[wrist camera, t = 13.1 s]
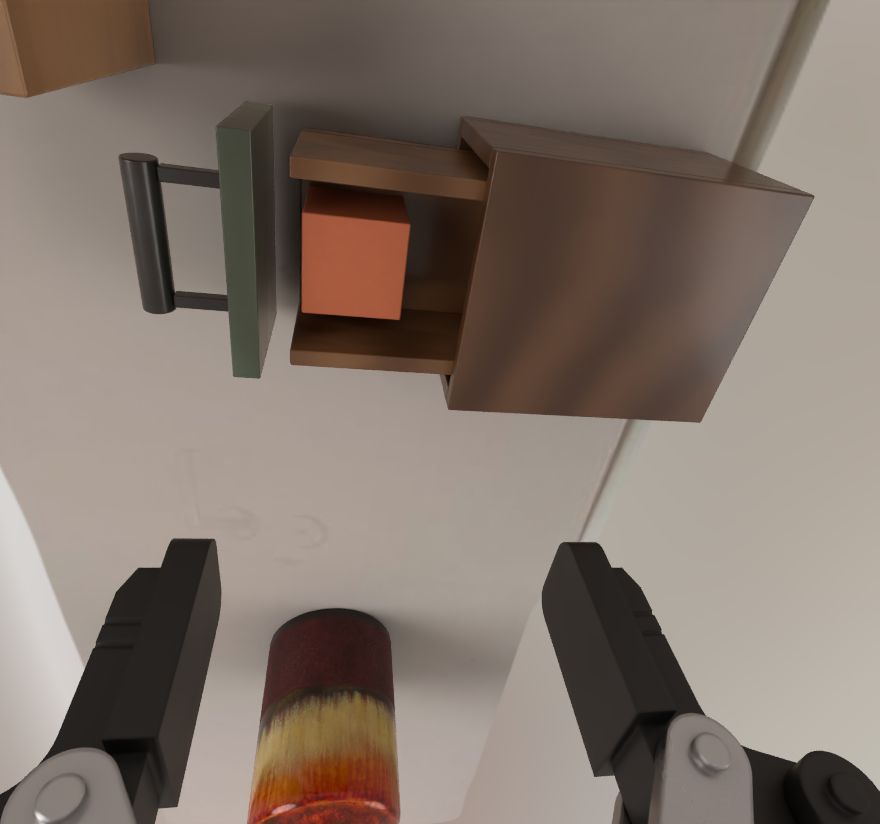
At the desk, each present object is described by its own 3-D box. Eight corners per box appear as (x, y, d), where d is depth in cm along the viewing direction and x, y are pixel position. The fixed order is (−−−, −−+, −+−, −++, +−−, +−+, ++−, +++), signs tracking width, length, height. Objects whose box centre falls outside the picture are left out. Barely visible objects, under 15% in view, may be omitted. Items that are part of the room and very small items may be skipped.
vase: (282, 601, 47) (244, 920, 30) (405, 614, 50) (430, 909, 34) (260, 672, 52) (218, 974, 36) (372, 680, 56) (380, 961, 39)
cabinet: (428, 328, 34) (447, 410, 27) (460, 115, 27) (496, 150, 20) (634, 344, 36) (700, 423, 29) (708, 153, 30) (816, 195, 23)
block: (307, 275, 29) (301, 313, 25) (309, 184, 26) (301, 212, 23) (394, 283, 30) (400, 320, 26) (403, 195, 27) (411, 224, 24)
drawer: (172, 306, 30) (132, 371, 25) (144, 86, 24) (83, 107, 19) (473, 330, 33) (497, 392, 28) (511, 139, 27) (551, 171, 22)
